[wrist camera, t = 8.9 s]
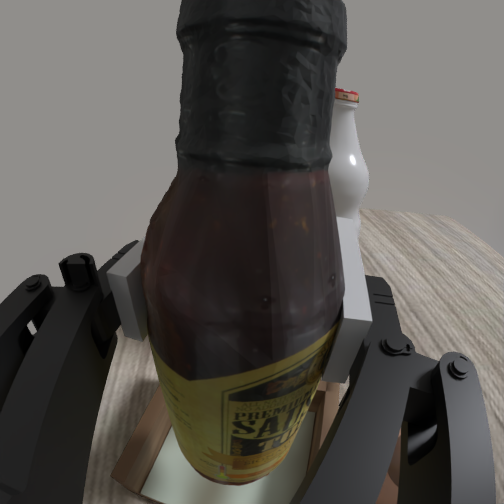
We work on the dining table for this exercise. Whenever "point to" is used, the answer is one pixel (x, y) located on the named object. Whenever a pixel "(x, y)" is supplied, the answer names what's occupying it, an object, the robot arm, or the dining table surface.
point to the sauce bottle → (247, 232)
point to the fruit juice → (347, 159)
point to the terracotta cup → (391, 478)
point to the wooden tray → (201, 489)
